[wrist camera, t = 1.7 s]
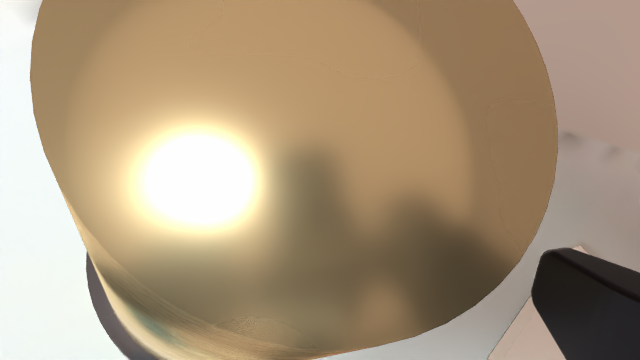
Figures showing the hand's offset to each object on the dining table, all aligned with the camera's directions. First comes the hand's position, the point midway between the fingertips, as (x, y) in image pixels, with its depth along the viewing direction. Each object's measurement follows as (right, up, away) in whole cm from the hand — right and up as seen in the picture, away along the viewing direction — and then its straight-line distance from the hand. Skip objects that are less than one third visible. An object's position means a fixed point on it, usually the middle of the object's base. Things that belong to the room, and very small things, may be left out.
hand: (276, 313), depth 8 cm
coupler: (-3, -1, +9) cm, 9 cm away
